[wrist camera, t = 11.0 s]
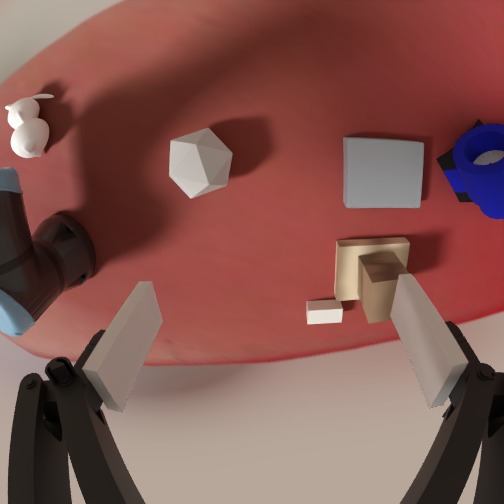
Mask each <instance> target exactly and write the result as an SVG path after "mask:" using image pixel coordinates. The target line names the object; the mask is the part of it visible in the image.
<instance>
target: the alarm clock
mask: <svg viewBox="0 0 504 504" xmlns="http://www.w3.org/2000/svg"><path fill="white" fill-rule="evenodd" d="M437 161H438V163H439V164H440V166H441V168H442V170H443V171H444V173H445V175H446V177H447V179H448V180H449V182H450V184H451V186H452V188H453V190H454V192H455V194H456V196H457V198H458V200H459V202H474V203H475V204H477V205H479V206H480V209H481V211H482V212H483V213H484V214H485V215H487V216H488V217H490V218H494V219H504V125H500V124H486V125H483V124H482V122H481V121H480V120H479V119H478V121H477V123H476V125H475V127H474V128H473V129H471V130H469V131H468V132H466V133H465V134H464V135H462V136H461V138H460V139H459V140H458V141H457V142H456V144H455V147H454V149H453V150H451V151H449V152H448V153H446V154H444V155H442V156H441V157H439V158H437Z"/></svg>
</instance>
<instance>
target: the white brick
mask: <svg viewBox="0 0 504 504" xmlns="http://www.w3.org/2000/svg"><path fill="white" fill-rule="evenodd" d="M342 312H343V308H342V304H341V301H336V299H334V300H317V301H307V322H308V324H321V323H337V322H341V321H342Z"/></svg>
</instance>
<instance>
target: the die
mask: <svg viewBox="0 0 504 504" xmlns="http://www.w3.org/2000/svg"><path fill="white" fill-rule="evenodd" d="M232 155H233V153H232V152H231V151H230V150H229V149H228V148H227V147H226V146H225V145H224V143H223V142H222V141H221V140H220V139H219V138H218V137H217V136H216V135H215V134H214V133H213V132H212V131H211V130H210V129H209V128H206V129H203V130H199V131H196V132H193V133H190V134H188V135H185V136H182V137H179V138H176V139H173V140H171V145H170V166H169V176H170V177H171V178H172V179H173V180H174V181H175V182H176V184H177V185H178V186H179V187H180V188H181V189H182V190H183V191H184V192H185V193H186V194H187V195H188V196H189V197H190V198H194V197H197V196H200V195H202V194H205V193H208V192H211V191H213V190H216V189H219V188H222V187H225V186H227V182H228V177H229V171H230V166H231V160H232Z"/></svg>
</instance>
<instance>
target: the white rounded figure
mask: <svg viewBox="0 0 504 504" xmlns="http://www.w3.org/2000/svg"><path fill="white" fill-rule="evenodd" d="M37 98H54V96H53V95H51V94H38V95H34V96H32V97H29V98H23V99H20V100H18V101H17V102H16V103H13V104H10V105H7V106H6V107H5V109H7V110H9V114H8V122H9V124H10V126H11V127H13V128H14V129H15V131H14V132H13V135H12V137H11V146H12V149H13V151H14V152H15V153H16V154H17V155H19V156H21V157H24V158H32V157H35V156H37V157H41V156H42V150H43V149H44V148H45V146H46V144H47V141H48V138H49V126H48V124H47V123H46V122H45V121H44V120H43V119H40V118H38V115H39V109H40V108H39V104H38V103H37V101H35V100H34V99H37Z"/></svg>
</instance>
